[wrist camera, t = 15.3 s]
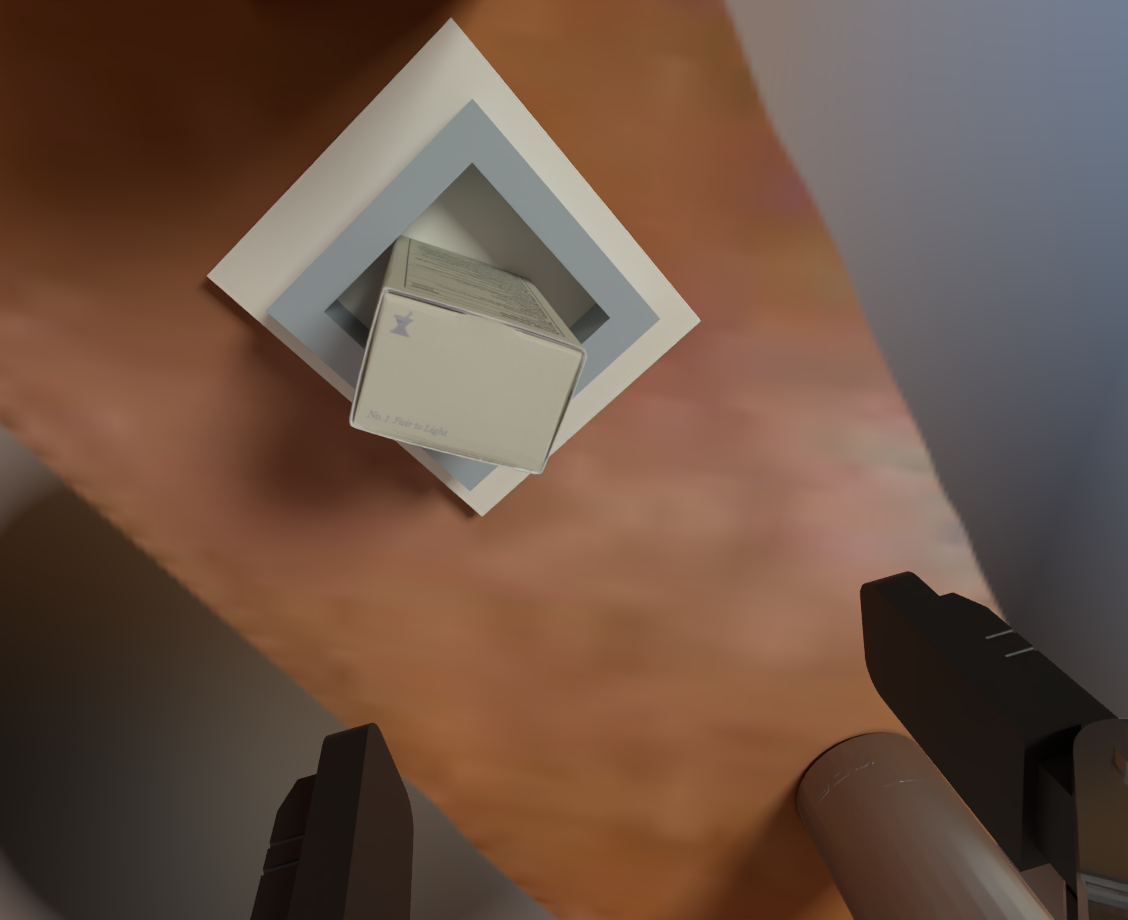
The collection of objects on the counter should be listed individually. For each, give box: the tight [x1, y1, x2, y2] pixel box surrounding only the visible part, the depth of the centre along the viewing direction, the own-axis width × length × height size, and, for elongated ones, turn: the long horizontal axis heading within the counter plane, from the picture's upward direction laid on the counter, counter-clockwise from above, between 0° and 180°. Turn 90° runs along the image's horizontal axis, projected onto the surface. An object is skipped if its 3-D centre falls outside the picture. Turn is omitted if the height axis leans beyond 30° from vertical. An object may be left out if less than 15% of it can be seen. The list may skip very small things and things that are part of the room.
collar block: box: [207, 18, 701, 516], centre depth 32 cm, size 16×14×4 cm
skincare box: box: [349, 235, 587, 475], centre depth 27 cm, size 6×4×12 cm
